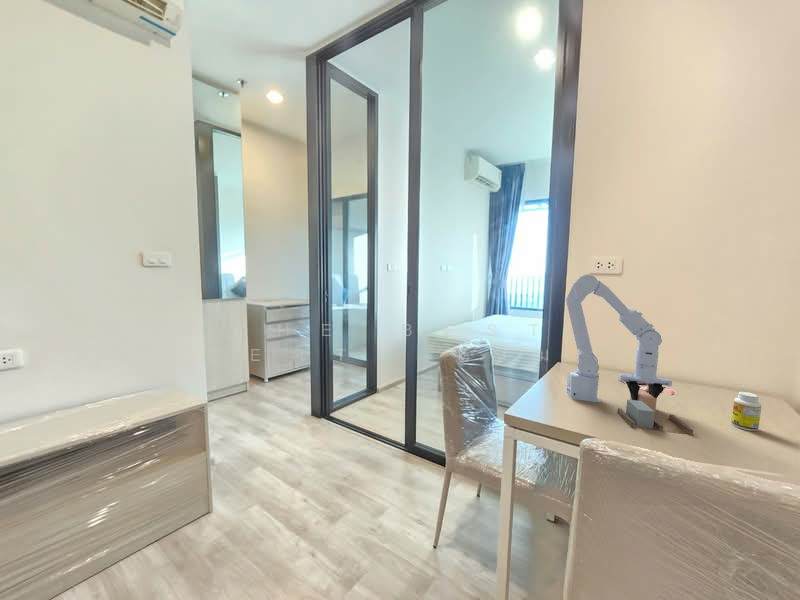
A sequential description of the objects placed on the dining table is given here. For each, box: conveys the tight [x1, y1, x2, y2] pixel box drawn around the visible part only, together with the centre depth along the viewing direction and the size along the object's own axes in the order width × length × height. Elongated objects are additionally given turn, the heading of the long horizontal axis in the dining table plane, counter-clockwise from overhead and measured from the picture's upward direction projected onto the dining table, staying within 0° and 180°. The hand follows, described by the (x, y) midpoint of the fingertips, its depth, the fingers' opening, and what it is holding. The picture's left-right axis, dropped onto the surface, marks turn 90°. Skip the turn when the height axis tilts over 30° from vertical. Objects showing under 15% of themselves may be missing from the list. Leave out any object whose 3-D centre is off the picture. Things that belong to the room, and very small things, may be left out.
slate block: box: [625, 399, 656, 429], centre depth 97 cm, size 4×8×5 cm, turn 165°
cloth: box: [624, 381, 680, 396], centre depth 131 cm, size 20×22×2 cm
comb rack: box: [616, 408, 694, 436], centre depth 97 cm, size 15×10×2 cm, turn 75°
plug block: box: [629, 389, 658, 413], centre depth 109 cm, size 4×8×5 cm, turn 167°
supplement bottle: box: [731, 391, 762, 432], centre depth 96 cm, size 6×6×10 cm
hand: (642, 404), depth 109 cm, fingers closed on plug block, 4 cm apart
